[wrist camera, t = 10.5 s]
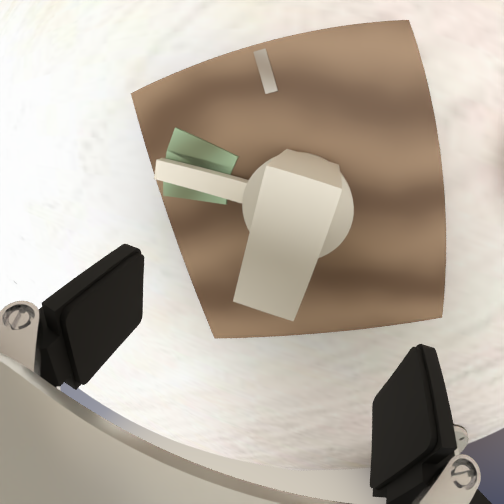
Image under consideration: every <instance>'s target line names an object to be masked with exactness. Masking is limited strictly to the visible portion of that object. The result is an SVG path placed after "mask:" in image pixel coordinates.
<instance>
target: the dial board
mask: <svg viewBox="0 0 504 504" xmlns="http://www.w3.org/2000/svg"><path fill="white" fill-rule="evenodd" d="M131 95H132V99H133V103H134V106H135V110H136V114H137V117H138V121H139V124H140V128H141V131H142V135H143V138H144V142H145V145H146V148H147V152H148V155H149V158H150V162H151V165H152V168H153V171H154V174H155V167H156V160H157V159H160V158H165V159H169V160H174V161H178V162H182V163H186V164H190V165H194V166H198V167H202V168H206V169H210V170H214V171H217V172H221V173H225V174H229V175H232V176H236V177H239V178H243V179H247V180H249V179H250V178H251V176H252V175H253V173H254V172H255V171H256V170H257V169H258V168H259V167H260V166H261V165H263V164H264V163H265V162H267V161H268V160H270V159H271V158H273V157H275V156H278V155H279V154H281V153H282V152H283V151H284V150H286V149H290V150H293V151H297V152H307V153H311V154H315V155H317V156H320V157H322V158H324V159H326V160H328V161H329V162H332V163H335V164H338V165H339V168H340V172H341V173H342V174H343V176H344V177H345V179H346V181H347V183H348V185H349V187H350V190H351V194H352V198H353V205H354V215H353V221H352V225H351V228H350V230H349V232H348V234H347V236H346V237H345V239H344V240H343V242H342V243H341V244H340V245H339V246H338V247H337V248H336V249H335V250H333V251H332V252H330V253H329V254H327V255H325V256H323V257H320V258H318V260H317V263H316V265H315V268H314V271H313V273H312V276H311V279H310V281H309V284H308V286H307V289H306V292H305V294H304V297H303V299H302V302H301V304H300V307H299V309H298V312H297V314H296V317H295V319H294V321H290V320H287V319H284V318H281V317H278V316H275V315H272V314H269V313H266V312H263V311H260V310H257V309H254V308H251V307H248V306H245V305H242V304H239V303H236V302H233V299H234V295H235V291H236V286H237V282H238V278H239V274H240V270H241V266H242V262H243V257H244V253H245V249H246V245H247V241H248V237H249V233H250V232H249V230H248V228H247V226H246V223H245V220H244V216H243V210H242V203H238V202H235V201H231V200H228V199H225V198H221V197H218V196H214V195H211V194H207V193H204V192H200V191H197V190H193V189H189V188H186V187H182V186H179V185H175V184H171V183H167V182H164V181H160V180H156V181H157V184H158V187H159V190H160V193H161V196H162V199H163V202H164V205H165V208H166V211H167V214H168V217H169V220H170V223H171V226H172V228H173V231H174V234H175V237H176V240H177V243H178V245H179V248H180V251H181V254H182V256H183V259H184V262H185V265H186V267H187V270H188V273H189V275H190V278H191V280H192V283H193V286H194V288H195V291H196V293H197V296H198V299H199V301H200V304H201V306H202V309H203V311H204V314H205V316H206V319H207V321H208V323H209V326H210V328H211V331H212V333H213V336H214V338H248V337H270V336H287V335H302V334H315V333H327V332H337V331H347V330H357V329H366V328H374V327H382V326H390V325H397V324H404V323H411V322H417V321H424V320H430V319H436V318H442V313H443V302H444V288H445V268H446V218H445V198H444V184H443V173H442V164H441V155H440V148H439V141H438V134H437V128H436V122H435V116H434V111H433V106H432V101H431V96H430V92H429V88H428V83H427V79H426V75H425V71H424V67H423V64H422V60H421V57H420V53H419V50H418V46H417V43H416V40H415V37H414V34H413V31H412V28H411V25H410V22H409V20H398V21H383V22H372V23H362V24H354V25H346V26H339V27H333V28H327V29H321V30H316V31H311V32H306V33H301V34H296V35H292V36H287V37H283V38H279V39H275V40H271V41H267V42H264V43H260V44H257V45H253V46H250V47H246V48H243V49H240V50H237V51H233V52H230V53H227V54H224V55H221V56H218V57H216V58H213V59H210V60H207V61H204V62H202V63H199V64H196V65H194V66H191V67H189V68H186V69H184V70H181V71H179V72H176V73H174V74H172V75H169V76H167V77H165V78H163V79H160V80H158V81H156V82H154V83H152V84H149V85H147V86H145V87H143V88H141V89H139V90H137V91H135V92H133V93H131Z"/></svg>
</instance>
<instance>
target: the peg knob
mask: <svg viewBox="0 0 504 504" xmlns="http://www.w3.org/2000/svg"><path fill="white" fill-rule="evenodd" d="M154 179H156V180H160V181H164V182H167V183H171V184H175V185H179V186H182V187H186V188H189V189H193V190H197V191H200V192H204V193H207V194H211V195H214V196H218V197H221V198H225V199H228V200H231V201H235V202H238V203H242V210H243V216H244V220H245V223H246V226H247V228H248V230H249V232H250V233H249V237H248V241H247V245H246V249H245V253H244V257H243V262H242V266H241V270H240V274H239V278H238V282H237V286H236V291H235V295H234V299H233V302H236V303H239V304H242V305H245V306H248V307H251V308H254V309H257V310H260V311H263V312H266V313H269V314H272V315H275V316H278V317H281V318H284V319H287V320H290V321H294V319H295V317H296V314H297V312H298V309H299V307H300V304H301V302H302V299H303V297H304V294H305V292H306V289H307V286H308V284H309V281H310V279H311V276H312V273H313V271H314V268H315V265H316V263H317V260H318V258H320V257H323V256H325V255H327V254H329V253H330V252H332V251H333V250H335V249H336V248H337V247H338V246H339V245H340V244H341V243H342V242H343V240H344V239H345V237H346V236H347V234H348V232H349V230H350V228H351V225H352V221H353V215H354V205H353V198H352V194H351V190H350V187H349V185H348V183H347V181H346V179H345V177H344V176H343V174H342V173H341V172H340V168H339V165H338V164H335V163H332V162H329V161H328V160H326V159H324V158H322V157H320V156H317V155H315V154H311V153H307V152H297V151H293V150H290V149H286V150H284V151H283V152H282V153H281V154H279V155H278V156H275V157H273V158H271V159H270V160H268V161H267V162H265V163H264V164H263V165H261V166H260V167H259V168H258V169H257V170H256V171H255V172H254V173H253V175H252V176H251V178H250V179H249V180H247V179H243V178H239V177H236V176H232V175H229V174H225V173H221V172H217V171H214V170H210V169H206V168H202V167H198V166H194V165H190V164H186V163H182V162H178V161H174V160H169V159H165V158H160V159H157V160H156V167H155V175H154Z"/></svg>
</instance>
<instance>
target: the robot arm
mask: <svg viewBox="0 0 504 504" xmlns="http://www.w3.org/2000/svg"><path fill="white" fill-rule="evenodd" d="M143 274H144V256H143V255H142V254H141V251H140V249H138V248H135V247H133V246H130V245H128V244H123V245H121V246H120V247H118V248H117V249H115V250H114V251H113V252H111V253H110V254H108V255H107V256H105V257H104V258H102V259H101V260H100V261H98V262H97V263H95V264H94V265H92V266H91V267H90V268H88V269H87V270H85V271H84V272H83V273H81V274H80V275H78V276H77V277H76V278H74V279H73V280H72V281H70V282H69V283H67V284H66V285H65V286H63V287H62V288H61V289H59V290H58V291H57V292H55V293H54V294H53V295H51V296H50V297H49V298H47V299H46V300H45V301H44V302H42V307H41V308H40V309H39V310H38V308H37V307H36V306H35V305H34V304H33V303H30V302H28V301H16V302H13V303H10V304H9V305H7V306H5V307H4V308H3V309H2V310H1V312H0V504H349V503H342V502H335V501H329V500H323V499H317V498H312V497H307V496H301V495H297V494H293V493H289V492H284V491H280V490H276V489H272V488H268V487H265V486H261V485H258V484H254V483H251V482H247V481H244V480H241V479H238V478H235V477H232V476H229V475H226V474H223V473H220V472H217V471H214V470H212V469H209V468H206V467H204V466H201V465H198V464H196V463H193V462H191V461H188V460H186V459H184V458H181V457H179V456H177V455H174V454H172V453H170V452H168V451H166V450H163V449H161V448H159V447H157V446H155V445H153V444H151V443H149V442H147V441H145V440H142V439H141V438H139V437H137V436H135V435H133V434H131V433H129V432H127V431H125V430H123V429H121V428H120V427H118V426H116V425H114V424H113V423H111V422H109V421H107V420H106V419H104V418H102V417H101V416H99V415H97V414H96V413H94V412H92V411H91V410H89V409H87V408H86V407H84V406H83V405H81V404H80V403H78V402H76V401H75V400H73V399H72V398H70V397H69V396H67V395H66V394H64V393H63V392H61V391H60V386H61V385H62V384H63V382H65V383H67V384H68V385H70V386H71V387H72V388H74V389H77V388H78V387H79V386H80V385H81V384H82V385H85V384H86V383H87V382H88V381H89V380H90V379H91V378H92V377H93V376H94V374H95V373H96V372H97V371H98V370H99V369H100V368H101V366H102V365H103V364H104V363H105V362H106V361H107V360H108V358H109V357H110V356H111V355H112V354H113V353H114V352H115V351H116V349H117V348H118V347H119V346H120V345H121V344H122V343H123V342H124V340H125V339H126V338H127V337H128V336H129V335H130V334H131V333H132V332H133V330H134V329H135V328H136V327H137V326H138V325H139V324H140V322H141V319H142V312H143ZM467 443H468V436H467V432H466V431H465V429H463V428H461V427H458V426H454V425H453V420H452V415H451V410H450V405H449V401H448V396H447V392H446V388H445V383H444V379H443V375H442V371H441V368H440V364H439V360H438V357H437V353H436V350H435V348H433V347H429V346H426V345H422V344H419V345H417V346H416V347H412V348H411V349H410V351H409V352H408V354H407V355H406V356H405V358H404V359H403V361H402V362H401V364H400V365H399V366H398V368H397V369H396V370H395V372H394V373H393V374H392V376H391V377H390V378H389V380H388V381H387V382H386V384H385V385H384V386H383V388H382V389H381V390H380V391H379V393H378V394H377V395H376V397H375V398H374V401H373V406H372V455H371V473H370V474H371V475H370V487H371V488H373V497H386V498H387V500H386V504H491V502H490V501H488V500H487V498H486V497H485V496H484V495H483V494H482V493H481V492H480V491H479V490H478V489H477V488H478V486H479V483H480V476H481V474H480V470H479V467H478V465H477V463H476V462H475V461H474V460H473V459H472V458H471V457H469V456H467V455H464V454H460V453H461V451H463V450H464V448H465V447H466V445H467Z"/></svg>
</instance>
